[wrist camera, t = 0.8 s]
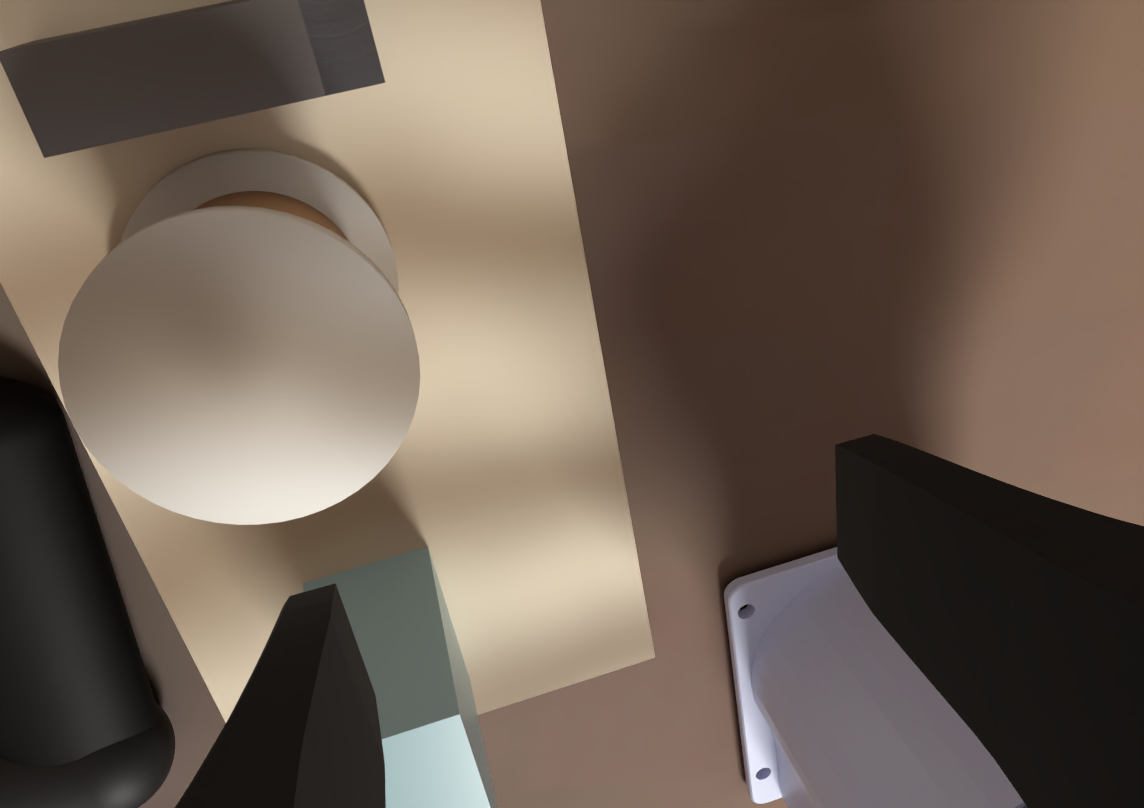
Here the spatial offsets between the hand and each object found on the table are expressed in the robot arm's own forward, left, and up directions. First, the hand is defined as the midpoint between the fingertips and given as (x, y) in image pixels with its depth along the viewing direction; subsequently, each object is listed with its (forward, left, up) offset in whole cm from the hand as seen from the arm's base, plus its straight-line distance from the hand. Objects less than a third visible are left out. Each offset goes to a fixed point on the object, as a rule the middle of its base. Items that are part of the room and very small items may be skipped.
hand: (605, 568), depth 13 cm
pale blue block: (-7, +4, -8) cm, 12 cm away
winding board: (+3, +3, -10) cm, 10 cm away
